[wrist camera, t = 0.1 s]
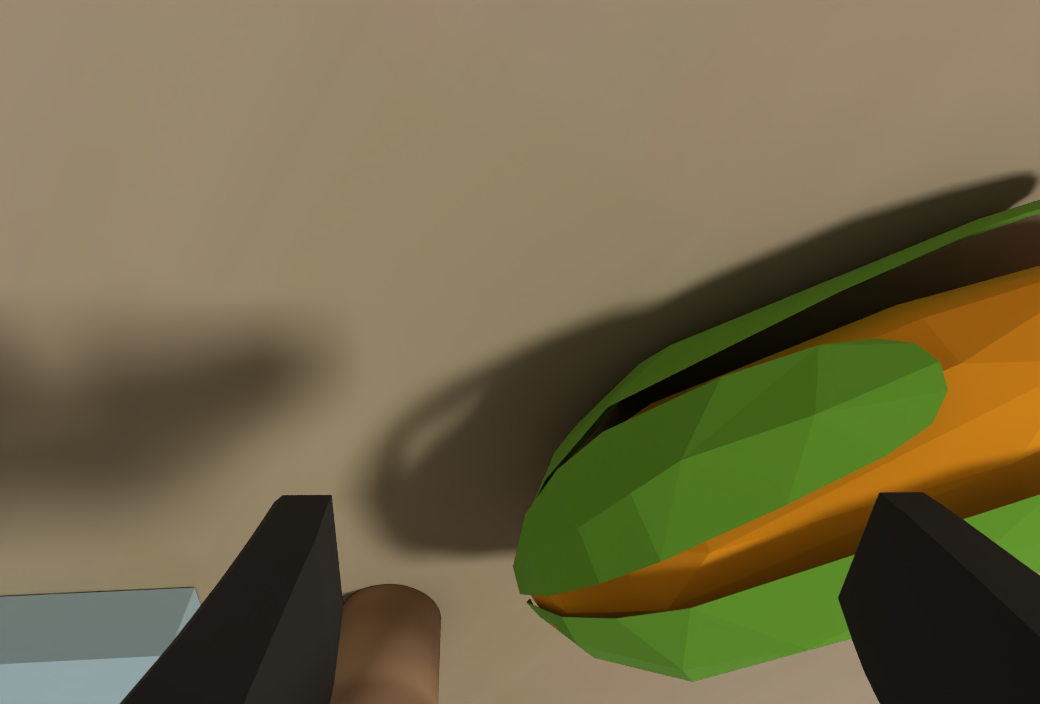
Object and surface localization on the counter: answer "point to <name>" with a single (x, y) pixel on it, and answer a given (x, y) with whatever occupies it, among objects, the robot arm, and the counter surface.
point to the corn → (787, 472)
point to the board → (86, 643)
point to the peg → (388, 648)
